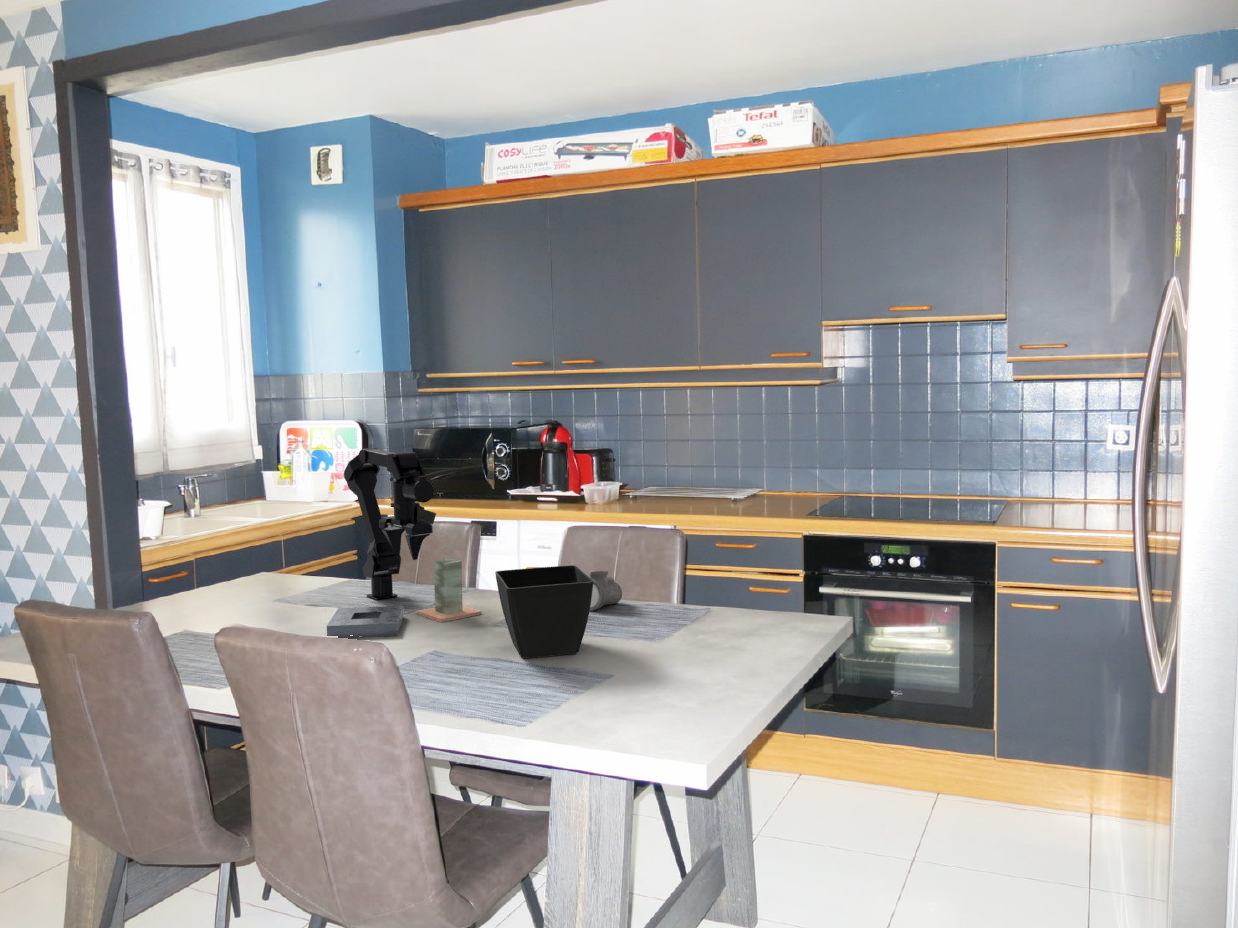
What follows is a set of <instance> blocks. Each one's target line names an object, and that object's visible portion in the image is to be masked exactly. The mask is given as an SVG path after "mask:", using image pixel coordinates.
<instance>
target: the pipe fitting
mask: <svg viewBox="0 0 1238 928" xmlns="http://www.w3.org/2000/svg"><path fill="white" fill-rule="evenodd" d="M588 575H589V577H590V578H591V579H592V580H593V591H592V599H591V605H590V611H589V612H593V611H597V610H599V609H601V608H602V607H603V606H606V605H607V606H609V605H616V604H618V603H619V602H620V601H621V600H622V598H623V589H622V587H621V585H620V584H619V583H617V582H616V581H615V578H613V577H610V576H608V575H609V570H606V569H605V570H601V569H600V570H599V569H598V570H589V574H588Z"/></svg>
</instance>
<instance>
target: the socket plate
mask: <svg viewBox="0 0 1238 928" xmlns="http://www.w3.org/2000/svg"><path fill="white" fill-rule="evenodd" d="M403 620H404V605H389V606H388V605H387V606H386V605H385V606H362V607H361V606H359V607H357V606H356V607H338V608H337V609H336V611H335V613H334V614H333V615H332V618H331V619H330V621H329V622H328V623H327V625H326V637H327V636H338V637H348V638H347V639H349V638H351V639H352V638H360V637H359V636H362V637H361V638H372V637H373V638H374V637H375V638H376V637H396V636H398V634H399V632H400V628H401V626H402V622H403ZM350 635H353V636H350Z"/></svg>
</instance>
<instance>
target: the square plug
mask: <svg viewBox="0 0 1238 928" xmlns="http://www.w3.org/2000/svg"><path fill="white" fill-rule="evenodd" d="M433 576H434V577H433V583H434V607H435V611H437V612H440V613H444V614H450V613H455V612H459V611H463V606H464V603H463V564H462V560H459V559H453V558H445V559H439V560H433Z"/></svg>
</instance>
